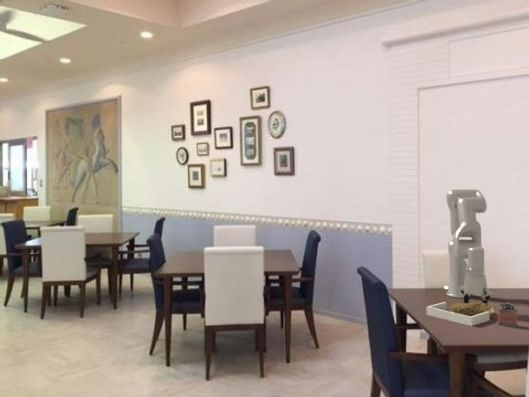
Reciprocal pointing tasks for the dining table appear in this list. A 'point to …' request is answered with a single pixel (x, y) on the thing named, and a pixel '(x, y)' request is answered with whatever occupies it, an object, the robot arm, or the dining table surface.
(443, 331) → the dining table surface
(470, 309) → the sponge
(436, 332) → the dining table surface
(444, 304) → the box
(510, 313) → the lighter
